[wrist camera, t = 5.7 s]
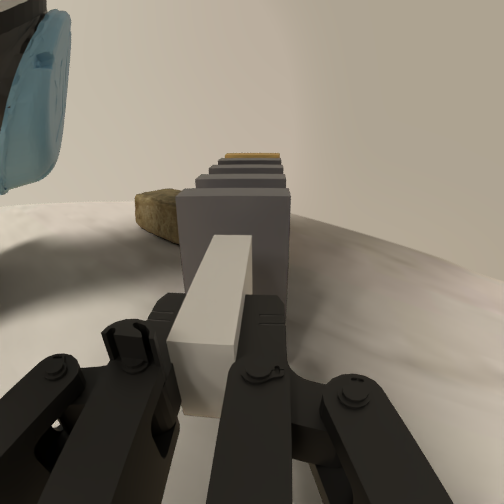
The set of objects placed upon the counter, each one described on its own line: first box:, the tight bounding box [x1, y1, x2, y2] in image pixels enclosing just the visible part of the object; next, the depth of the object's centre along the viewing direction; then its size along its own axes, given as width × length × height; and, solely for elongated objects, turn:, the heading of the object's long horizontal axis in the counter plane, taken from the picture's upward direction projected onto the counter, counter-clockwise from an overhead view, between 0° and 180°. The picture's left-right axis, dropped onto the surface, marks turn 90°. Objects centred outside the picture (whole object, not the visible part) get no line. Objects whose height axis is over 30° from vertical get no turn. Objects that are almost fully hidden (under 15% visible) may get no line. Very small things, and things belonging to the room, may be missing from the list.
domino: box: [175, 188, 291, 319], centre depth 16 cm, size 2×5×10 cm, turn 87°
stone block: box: [135, 189, 181, 244], centre depth 38 cm, size 6×12×5 cm, turn 48°
